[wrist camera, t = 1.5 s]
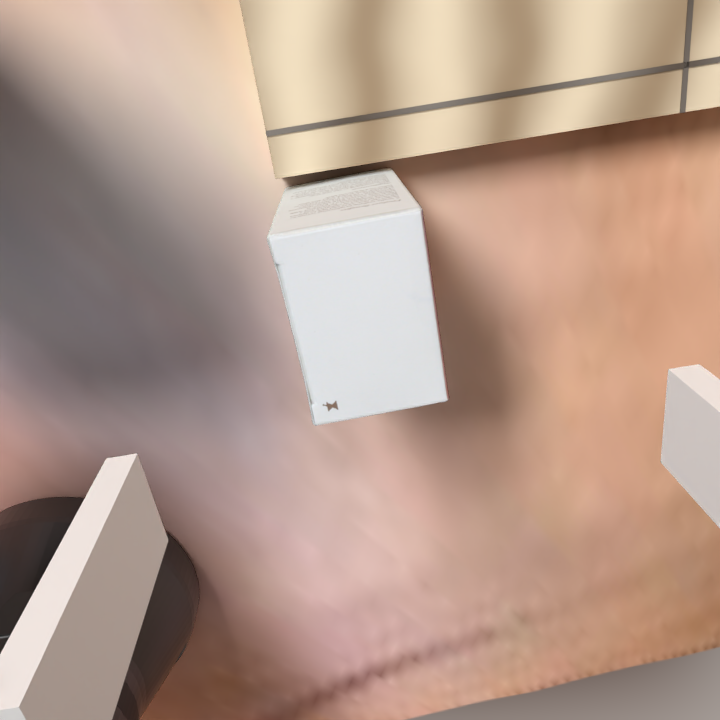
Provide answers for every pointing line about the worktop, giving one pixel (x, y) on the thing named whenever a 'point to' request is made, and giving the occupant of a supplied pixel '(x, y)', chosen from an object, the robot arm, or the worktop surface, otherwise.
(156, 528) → the robot arm
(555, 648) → the worktop surface
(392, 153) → the board
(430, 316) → the small box
